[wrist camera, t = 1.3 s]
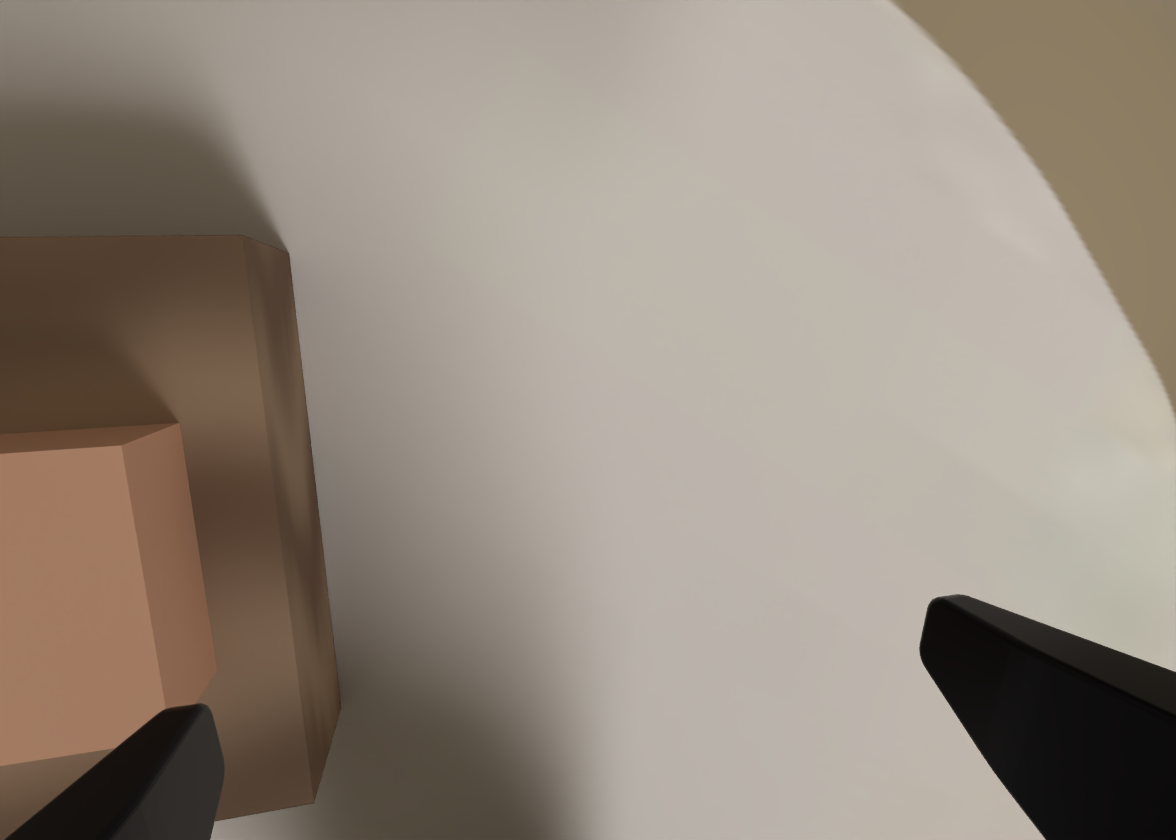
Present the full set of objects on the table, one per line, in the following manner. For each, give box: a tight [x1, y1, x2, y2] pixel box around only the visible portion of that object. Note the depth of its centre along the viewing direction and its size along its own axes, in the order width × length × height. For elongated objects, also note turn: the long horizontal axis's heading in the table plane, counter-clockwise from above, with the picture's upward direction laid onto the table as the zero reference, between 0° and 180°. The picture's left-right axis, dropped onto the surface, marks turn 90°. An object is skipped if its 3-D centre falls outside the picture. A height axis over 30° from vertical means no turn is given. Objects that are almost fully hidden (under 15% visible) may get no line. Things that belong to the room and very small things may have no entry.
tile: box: [0, 423, 217, 766], centre depth 13 cm, size 6×4×2 cm
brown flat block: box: [0, 235, 341, 840], centre depth 15 cm, size 14×12×4 cm
